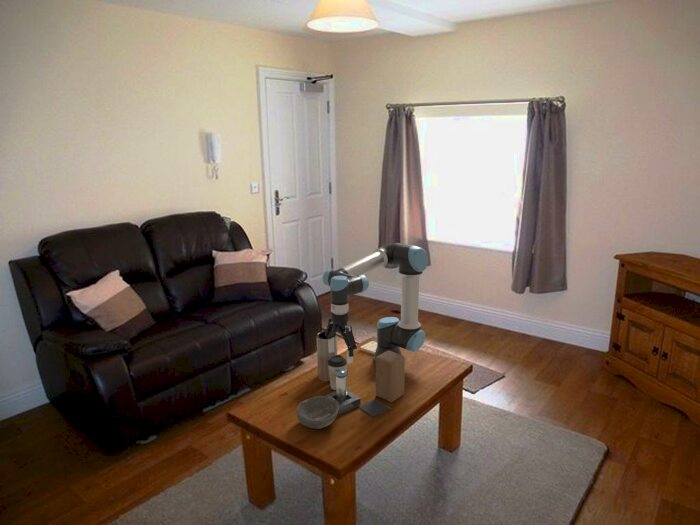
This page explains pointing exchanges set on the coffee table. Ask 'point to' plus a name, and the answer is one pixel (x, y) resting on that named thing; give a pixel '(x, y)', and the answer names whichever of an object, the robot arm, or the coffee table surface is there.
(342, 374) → the silver domed cylinder
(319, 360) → the planter
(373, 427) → the coffee table surface
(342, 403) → the frame
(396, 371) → the wooden block
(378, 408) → the mat
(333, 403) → the bowl
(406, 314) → the robot arm
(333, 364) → the coffee cup
